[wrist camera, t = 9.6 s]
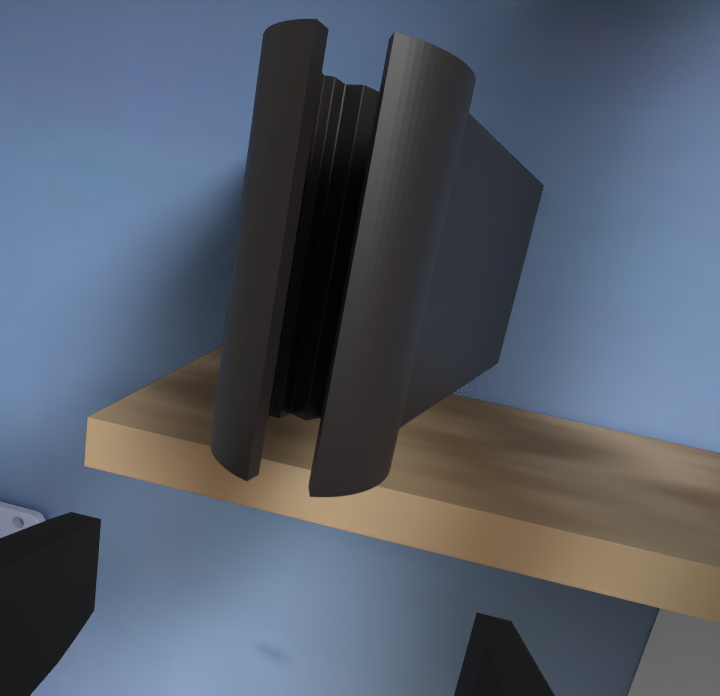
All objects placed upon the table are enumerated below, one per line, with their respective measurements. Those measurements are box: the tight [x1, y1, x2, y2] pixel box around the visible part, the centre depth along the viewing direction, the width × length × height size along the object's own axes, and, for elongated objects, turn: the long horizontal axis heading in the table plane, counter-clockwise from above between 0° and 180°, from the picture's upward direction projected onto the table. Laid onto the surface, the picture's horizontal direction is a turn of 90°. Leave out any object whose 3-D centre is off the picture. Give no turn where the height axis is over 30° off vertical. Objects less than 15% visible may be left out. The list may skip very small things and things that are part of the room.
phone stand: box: [210, 19, 544, 497], centre depth 13 cm, size 9×6×12 cm, turn 79°
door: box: [84, 345, 720, 623], centre depth 15 cm, size 19×2×8 cm, turn 79°
